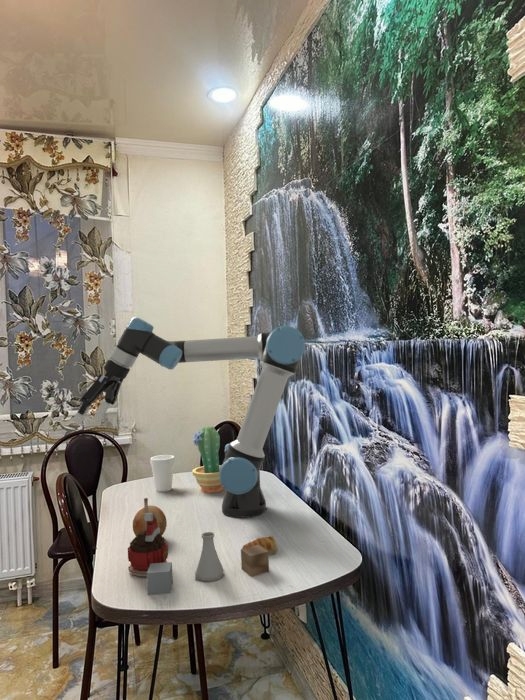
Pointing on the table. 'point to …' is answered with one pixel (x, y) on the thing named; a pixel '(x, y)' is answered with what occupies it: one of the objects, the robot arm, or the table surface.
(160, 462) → the foam cup
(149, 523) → the cake
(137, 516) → the onion
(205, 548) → the flask
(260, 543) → the pastry
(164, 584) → the slate-grey block
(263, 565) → the walnut block
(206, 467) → the potted cactus
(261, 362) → the robot arm
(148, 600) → the table surface
